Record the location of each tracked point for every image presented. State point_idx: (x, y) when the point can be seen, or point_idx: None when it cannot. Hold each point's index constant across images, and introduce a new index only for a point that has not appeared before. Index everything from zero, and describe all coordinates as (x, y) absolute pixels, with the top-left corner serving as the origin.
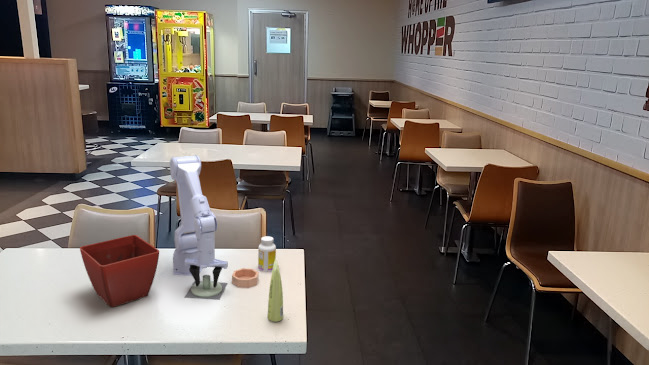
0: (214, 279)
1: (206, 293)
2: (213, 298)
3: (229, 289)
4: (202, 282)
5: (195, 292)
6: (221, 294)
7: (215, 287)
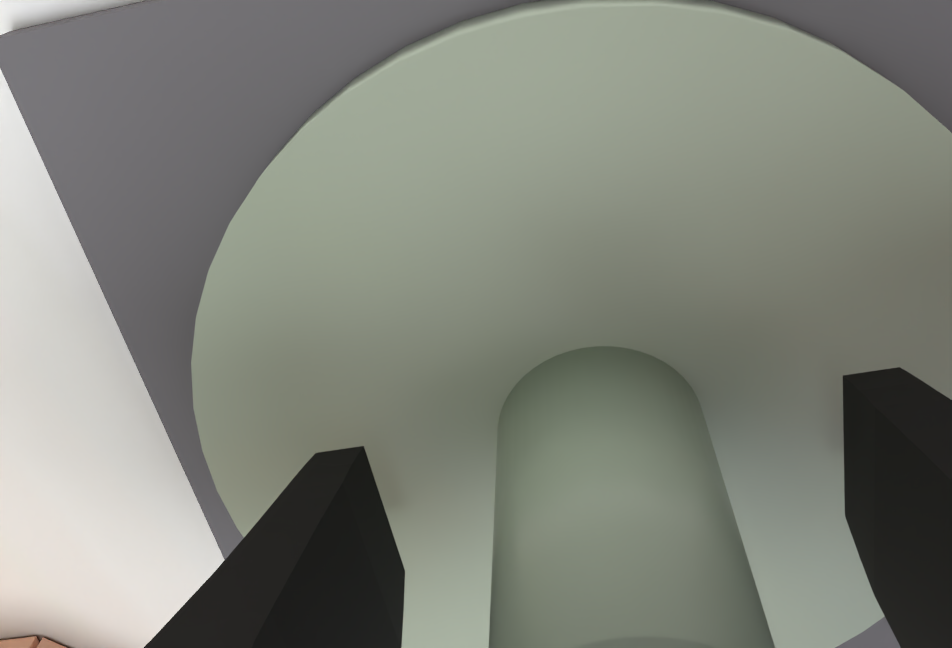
0: (219, 641)
1: (459, 161)
2: (187, 48)
3: (159, 566)
4: (811, 615)
5: (824, 112)
6: (124, 309)
7: (394, 508)
